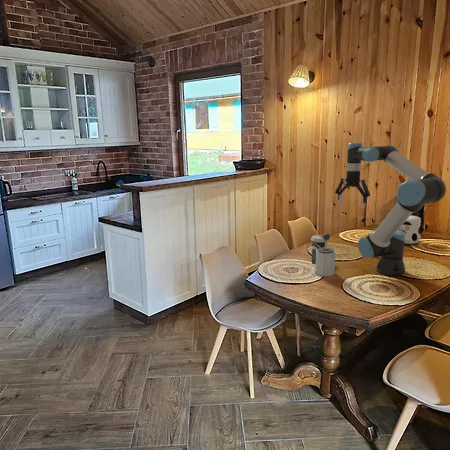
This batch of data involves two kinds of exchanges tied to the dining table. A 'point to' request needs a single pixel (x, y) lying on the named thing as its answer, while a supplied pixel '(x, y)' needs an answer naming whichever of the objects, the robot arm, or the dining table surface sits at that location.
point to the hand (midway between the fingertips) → (351, 207)
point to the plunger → (326, 236)
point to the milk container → (411, 230)
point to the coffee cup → (317, 242)
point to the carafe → (324, 261)
